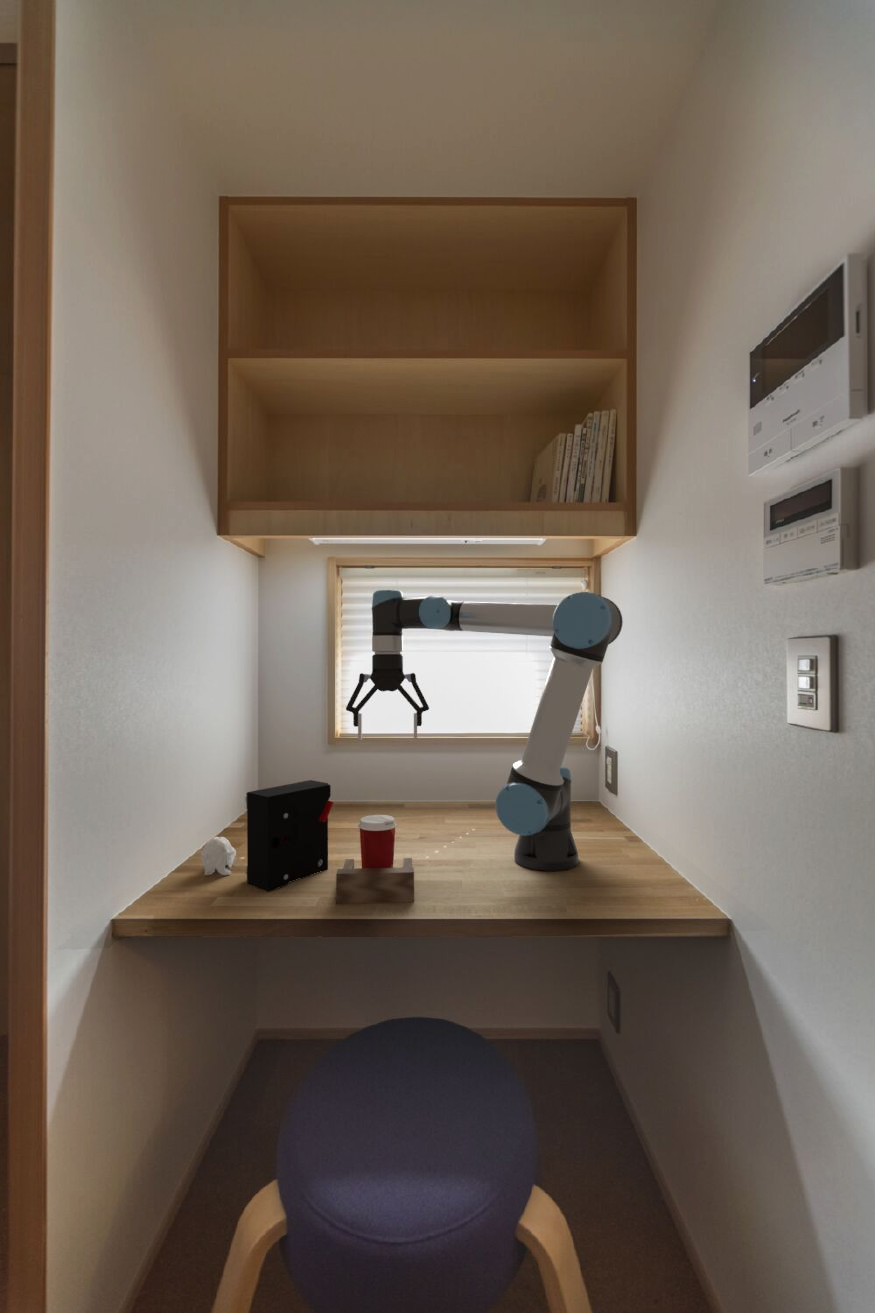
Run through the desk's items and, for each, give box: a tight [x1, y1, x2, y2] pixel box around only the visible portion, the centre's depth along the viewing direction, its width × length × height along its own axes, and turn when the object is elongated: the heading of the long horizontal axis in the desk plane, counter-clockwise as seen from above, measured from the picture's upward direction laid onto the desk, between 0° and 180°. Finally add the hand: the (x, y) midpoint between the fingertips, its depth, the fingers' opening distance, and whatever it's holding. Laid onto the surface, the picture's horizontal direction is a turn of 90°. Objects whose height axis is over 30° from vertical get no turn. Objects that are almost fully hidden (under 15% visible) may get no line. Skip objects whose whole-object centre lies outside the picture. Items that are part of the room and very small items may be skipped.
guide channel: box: [335, 857, 415, 905], centre depth 143 cm, size 16×22×6 cm
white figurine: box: [200, 836, 239, 877], centre depth 151 cm, size 6×8×12 cm
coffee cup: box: [357, 814, 398, 868], centre depth 139 cm, size 8×8×15 cm
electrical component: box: [245, 779, 334, 893], centre depth 147 cm, size 18×10×20 cm, turn 141°
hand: (387, 739), depth 161 cm, fingers open, 13 cm apart
